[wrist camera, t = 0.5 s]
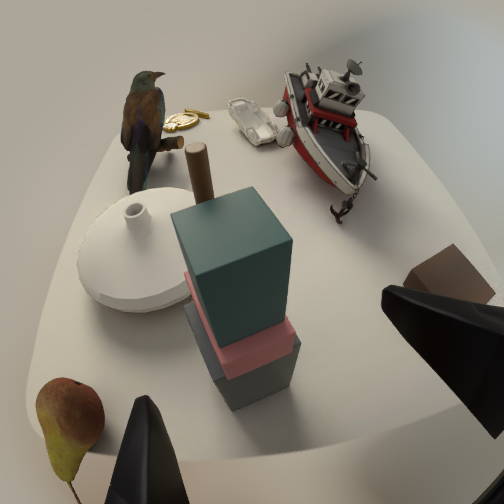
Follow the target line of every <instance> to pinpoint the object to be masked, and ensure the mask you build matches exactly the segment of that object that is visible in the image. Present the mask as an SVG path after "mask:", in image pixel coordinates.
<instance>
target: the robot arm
mask: <svg viewBox="0 0 504 504" xmlns="http://www.w3.org/2000/svg"><path fill="white" fill-rule="evenodd" d="M381 308H382V310H383V312H384V313H385V314H386V316H387V317H388V318H389V320H390V321H391V322H392V323H393V325H394V326H395V327H396V329H397V330H398V331H399V333H400V334H401V335H402V336H403V338H404V339H405V340H406V341H407V342H408V343H409V344H410V345H411V346H412V347H413V348H414V349H415V351H416V352H417V353H418V354H419V355H420V356H421V357H422V358H423V359H424V360H425V361H426V362H427V363H428V364H429V366H430V367H431V368H432V369H433V370H434V371H435V372H436V373H437V374H438V375H439V376H440V378H441V379H442V380H443V381H444V382H445V383H446V384H447V385H448V386H449V388H450V389H451V390H452V391H453V392H454V393H455V394H456V395H457V396H458V398H459V399H460V400H461V401H462V402H463V403H464V404H465V406H467V408H468V409H469V410H470V412H471V413H472V414H473V415H474V416H475V417H476V418H477V420H478V421H479V422H480V423H481V424H482V426H483V427H484V428H485V429H486V430H487V431H488V433H489V434H490V435H491V436H492V437H493V438H494V439H496V438H497V437H498V436H499V435H500V434H501V433H502V431H503V430H504V307H498V306H491V305H486V304H480V303H476V302H473V303H472V302H471V301H466V300H462V299H457V298H452V297H447V296H443V295H438V294H433V293H429V292H424V291H419V290H415V289H410V288H405V287H401V286H396V285H389V286H388V287H386V288H384V289H383V290H382V299H381ZM110 485H111V486H109V489H108V493H107V497H106V500H105V503H104V504H190V503H189V500H188V497H187V494H186V490H185V487H184V484H183V480H182V477H181V473H180V470H179V466H178V462H177V458H176V455H175V452H174V449H173V446H172V443H171V441H170V438H169V435H168V433H167V430H166V427H165V425H164V422H163V419H162V416H161V413H160V411H159V409H158V408H157V406H156V405H155V404H154V402H153V401H152V400H151V399H150V397H149V396H148V395H144V396H141V397H138V398H136V399H135V402H134V405H133V408H132V411H131V414H130V417H129V420H128V424H127V427H126V430H125V433H124V437H123V440H122V443H121V447H120V450H119V453H118V457H117V460H116V464H115V468H114V471H113V475H112V479H111V482H110ZM472 504H504V470H503V471H502V472H501V473H500V474H499V476H498V477H497V478H496V479H495V480H494V481H493V482H492V484H491V485H490V486H489V487H488V488H487V489H486V490H485V491H484V492H483V493H482V494H481V495H480V496H479V498H477V500H476V501H474V502H473V503H472Z"/></svg>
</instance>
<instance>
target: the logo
mask: <svg viewBox="0 0 504 504" xmlns="http://www.w3.org/2000/svg"><path fill="white" fill-rule="evenodd" d="M184 110H185V113H180V114H176V115H174V116H172V117H170V118H168V119H167V121H166V125H164V127H163V129H164V131H166V132H168V131H169V132H175V131H176V129H178V130H183V129H187V128H190V127H192V126H194V125H196V124H197V123H198V121H199V117H203V118H209V114H208V113H203V112H199V111H195V110H190V109H184ZM198 116H199V117H198Z"/></svg>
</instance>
